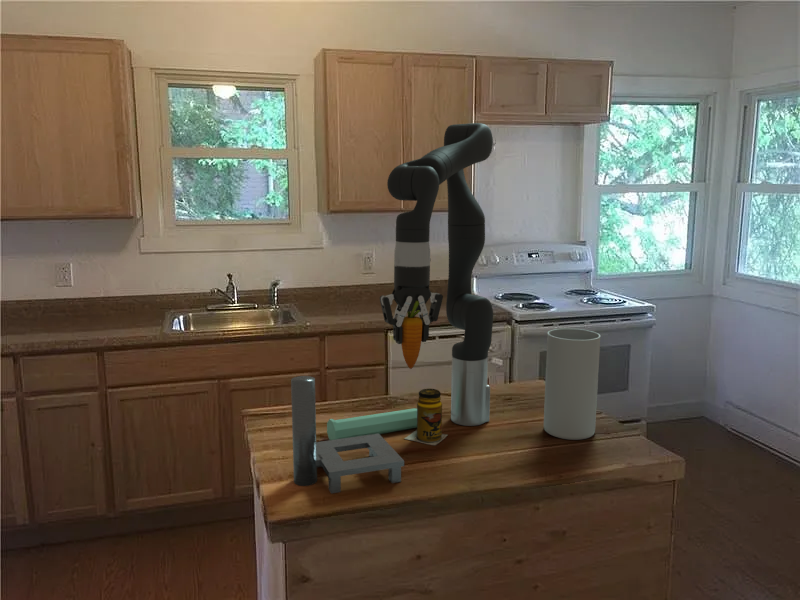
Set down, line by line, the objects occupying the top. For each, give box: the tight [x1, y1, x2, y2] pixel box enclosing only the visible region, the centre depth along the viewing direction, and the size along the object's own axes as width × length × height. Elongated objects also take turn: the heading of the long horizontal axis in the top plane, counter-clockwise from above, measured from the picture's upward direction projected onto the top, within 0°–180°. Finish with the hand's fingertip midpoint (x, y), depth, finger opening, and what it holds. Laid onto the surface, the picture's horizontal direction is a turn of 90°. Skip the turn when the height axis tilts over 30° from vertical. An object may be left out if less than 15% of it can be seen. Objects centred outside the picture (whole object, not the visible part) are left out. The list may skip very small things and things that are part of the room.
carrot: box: [400, 301, 422, 370], centre depth 141 cm, size 5×5×15 cm
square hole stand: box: [290, 375, 405, 495], centre depth 139 cm, size 21×16×22 cm
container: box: [326, 407, 417, 441], centre depth 165 cm, size 6×6×25 cm
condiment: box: [403, 388, 449, 446], centre depth 161 cm, size 7×8×12 cm
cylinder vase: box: [543, 328, 601, 441], centre depth 164 cm, size 12×12×25 cm
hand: (410, 341), depth 142 cm, fingers closed on carrot, 5 cm apart
